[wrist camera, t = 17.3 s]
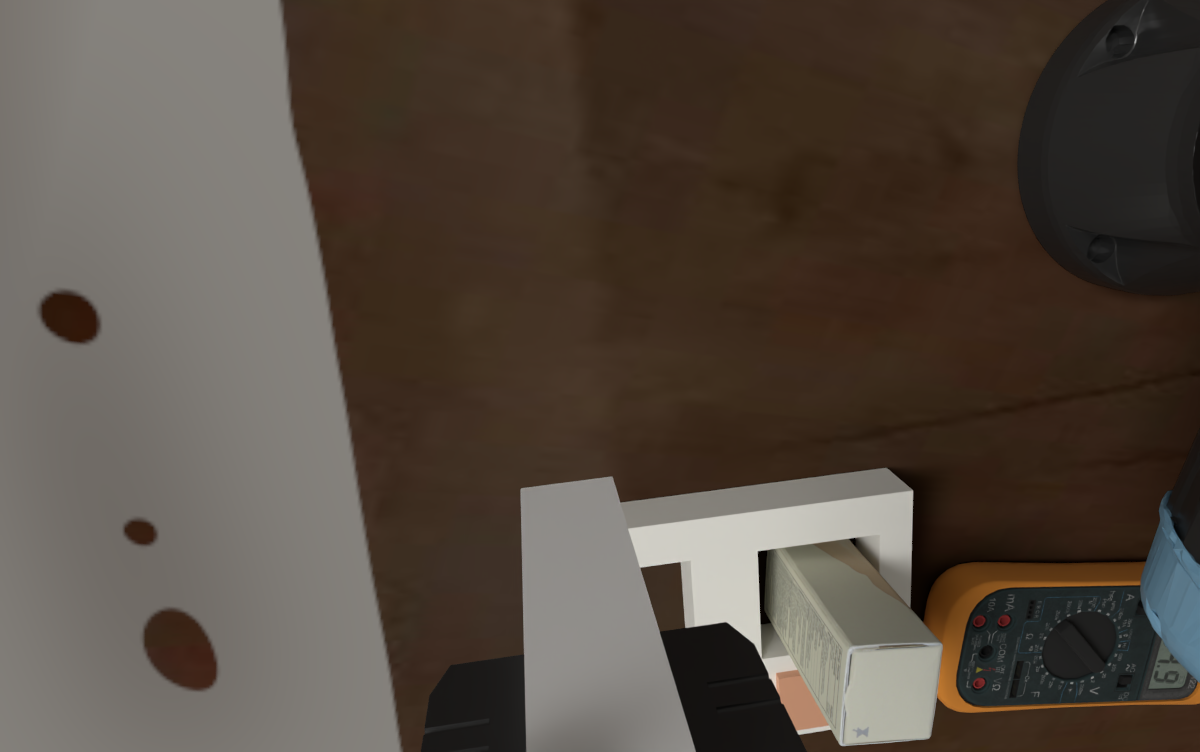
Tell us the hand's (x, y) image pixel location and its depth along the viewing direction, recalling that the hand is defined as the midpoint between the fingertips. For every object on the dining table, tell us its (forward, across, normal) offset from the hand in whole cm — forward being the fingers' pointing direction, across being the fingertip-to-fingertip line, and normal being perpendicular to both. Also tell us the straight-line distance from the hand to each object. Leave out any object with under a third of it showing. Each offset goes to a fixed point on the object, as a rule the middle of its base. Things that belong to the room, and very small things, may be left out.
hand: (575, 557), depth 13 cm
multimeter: (+27, +29, -23) cm, 46 cm away
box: (+27, +13, -18) cm, 34 cm away
